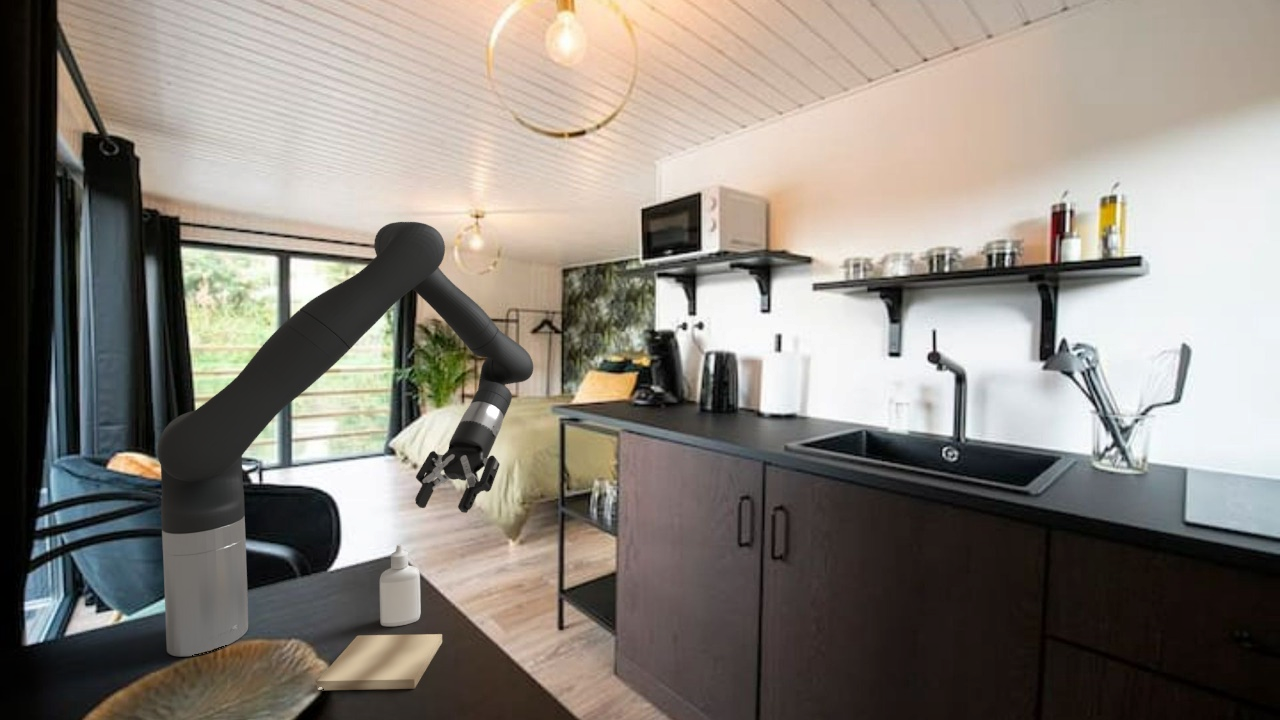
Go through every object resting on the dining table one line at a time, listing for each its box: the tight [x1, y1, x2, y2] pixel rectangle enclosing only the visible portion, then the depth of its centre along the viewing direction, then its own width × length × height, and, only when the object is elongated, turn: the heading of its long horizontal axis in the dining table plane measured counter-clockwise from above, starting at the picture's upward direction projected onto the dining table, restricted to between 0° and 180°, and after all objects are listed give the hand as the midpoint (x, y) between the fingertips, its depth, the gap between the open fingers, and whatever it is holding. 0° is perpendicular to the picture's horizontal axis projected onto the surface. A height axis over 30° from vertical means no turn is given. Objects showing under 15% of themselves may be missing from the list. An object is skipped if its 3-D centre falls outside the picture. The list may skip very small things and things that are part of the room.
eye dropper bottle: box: [379, 543, 422, 627], centre depth 82 cm, size 4×6×12 cm
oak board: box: [316, 633, 443, 691], centre depth 71 cm, size 12×10×1 cm
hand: (440, 508), depth 91 cm, fingers open, 8 cm apart
